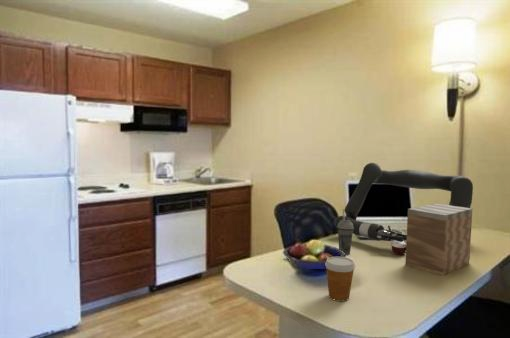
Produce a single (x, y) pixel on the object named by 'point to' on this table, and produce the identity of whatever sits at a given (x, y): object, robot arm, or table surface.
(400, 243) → the cream-topped red cup
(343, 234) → the beverage cup
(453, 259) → the under counter cubby
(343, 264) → the disposable coffee cup
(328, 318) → the table surface
